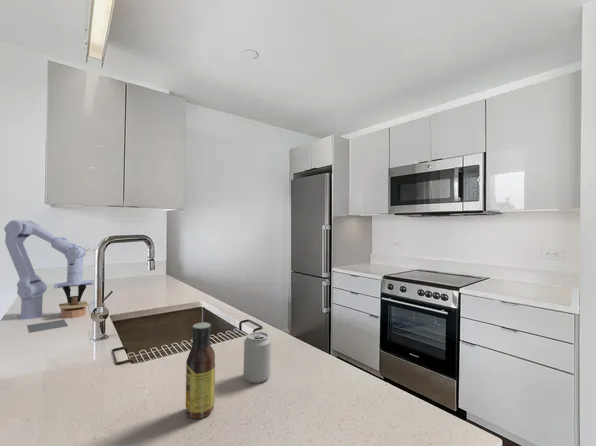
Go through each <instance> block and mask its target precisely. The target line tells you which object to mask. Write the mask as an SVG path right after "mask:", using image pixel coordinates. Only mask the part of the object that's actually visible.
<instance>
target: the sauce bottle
mask: <svg viewBox="0 0 596 446" xmlns="http://www.w3.org/2000/svg"><path fill="white" fill-rule="evenodd" d="M191 328H192V329H191V332H192V343H191V344H192V345H191V348H190V351H189V352H188V353H189V354H188V356H187V358H186V362H185V363H186V364H185V365H186V366H185V368H186V369H185V370H186V371H185V409H186V415H187V416H188V418H192V419H202V418H206V417H207V416H209V415H211V413H212V412H213V410H214V408H215V406H214V405H215V404H214V403H215V395H216V393H215V386H216V379H215V378H216V377H215V376H216V363H215V361H216V354H215V350H214V349H213V347H212V346H211V344H210V343H211V331H212V324H211V323H209V322H198V323H195V324H194V323H193V325H192V327H191Z"/></svg>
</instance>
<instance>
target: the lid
mask: <svg viewBox="0 0 596 446" xmlns="http://www.w3.org/2000/svg"><path fill="white" fill-rule="evenodd" d="M78 297H79V296H78V295H70V303H68V302H66V303H65V302H64V303H58V306H59V308H60V311H61V310H63V309H71V308H79V307H86V308H87V307H89V306H90V305H89V303H88V302H87V301H86V300H80V302H78Z"/></svg>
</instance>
